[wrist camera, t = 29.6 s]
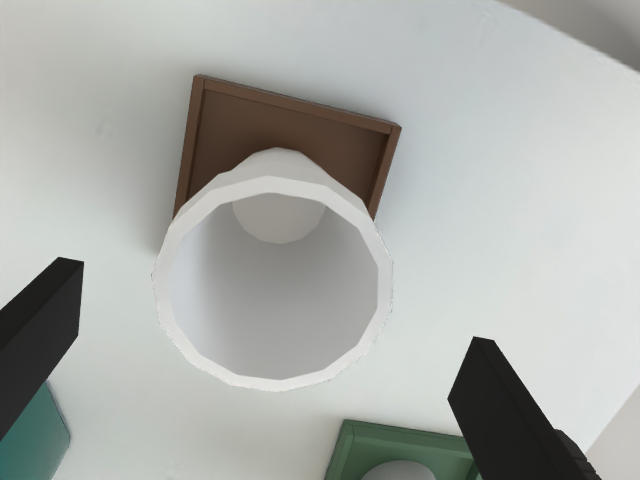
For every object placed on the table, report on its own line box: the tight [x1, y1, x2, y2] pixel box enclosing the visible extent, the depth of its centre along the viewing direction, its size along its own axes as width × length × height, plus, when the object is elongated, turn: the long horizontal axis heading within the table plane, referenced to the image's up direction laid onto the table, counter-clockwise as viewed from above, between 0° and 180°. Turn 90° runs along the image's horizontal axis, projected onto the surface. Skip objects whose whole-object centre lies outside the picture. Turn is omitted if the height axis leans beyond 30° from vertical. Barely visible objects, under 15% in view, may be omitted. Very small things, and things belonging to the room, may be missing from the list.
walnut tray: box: [172, 74, 402, 222], centre depth 31 cm, size 12×12×2 cm
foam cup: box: [151, 147, 393, 392], centre depth 25 cm, size 10×9×13 cm
